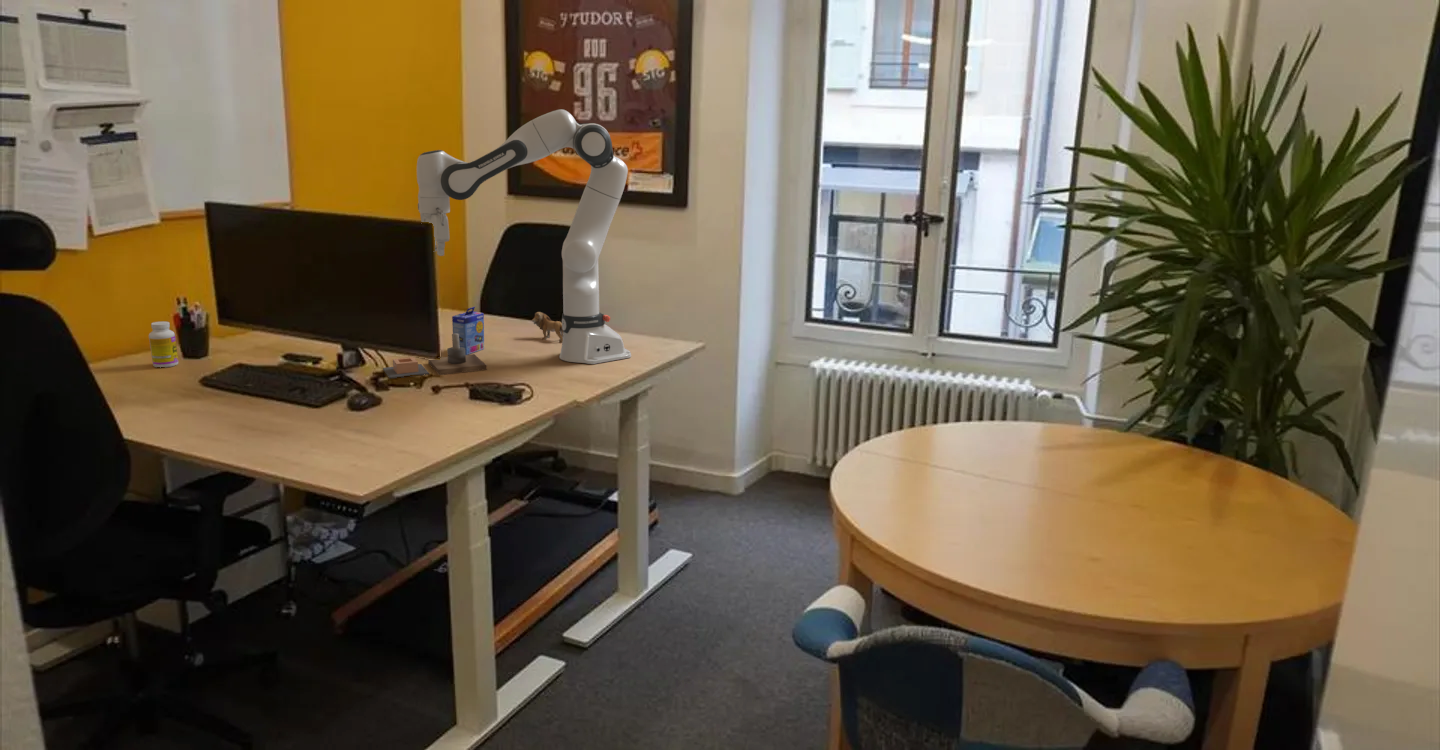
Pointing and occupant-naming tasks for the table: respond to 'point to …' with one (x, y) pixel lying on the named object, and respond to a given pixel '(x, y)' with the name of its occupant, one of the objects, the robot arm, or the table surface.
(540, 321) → the lion figurine
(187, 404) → the table surface
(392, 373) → the mat
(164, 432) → the table surface
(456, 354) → the stand
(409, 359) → the pink slotted block
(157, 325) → the supplement bottle
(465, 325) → the ink cartridge box
